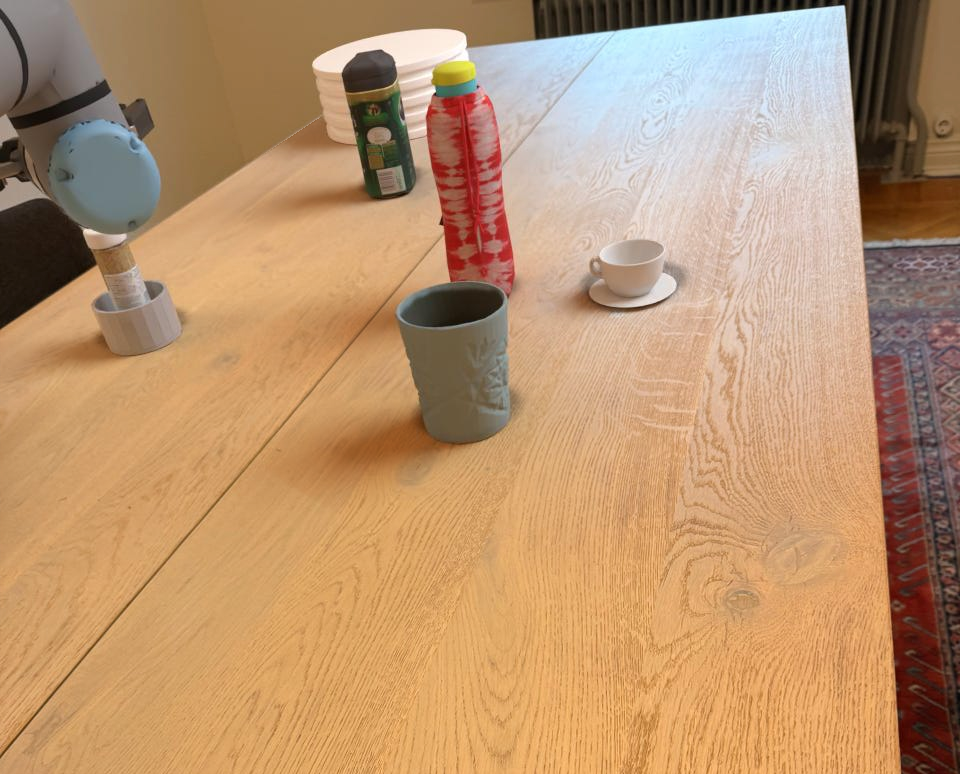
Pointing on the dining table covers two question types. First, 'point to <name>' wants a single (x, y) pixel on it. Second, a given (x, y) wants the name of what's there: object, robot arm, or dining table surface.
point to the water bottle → (469, 177)
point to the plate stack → (414, 72)
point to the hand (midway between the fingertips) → (34, 136)
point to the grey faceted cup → (139, 322)
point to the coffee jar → (379, 123)
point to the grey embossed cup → (458, 358)
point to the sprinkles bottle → (118, 269)
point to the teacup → (631, 274)
